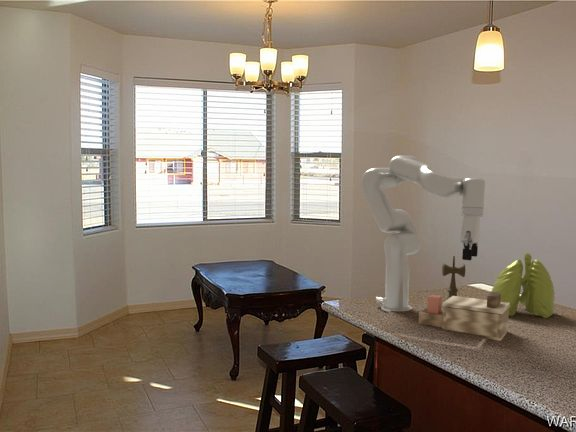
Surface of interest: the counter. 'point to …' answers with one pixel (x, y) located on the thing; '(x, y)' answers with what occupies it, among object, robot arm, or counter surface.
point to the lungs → (527, 287)
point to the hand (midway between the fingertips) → (469, 258)
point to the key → (434, 304)
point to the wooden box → (468, 321)
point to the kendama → (453, 276)
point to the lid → (479, 303)
